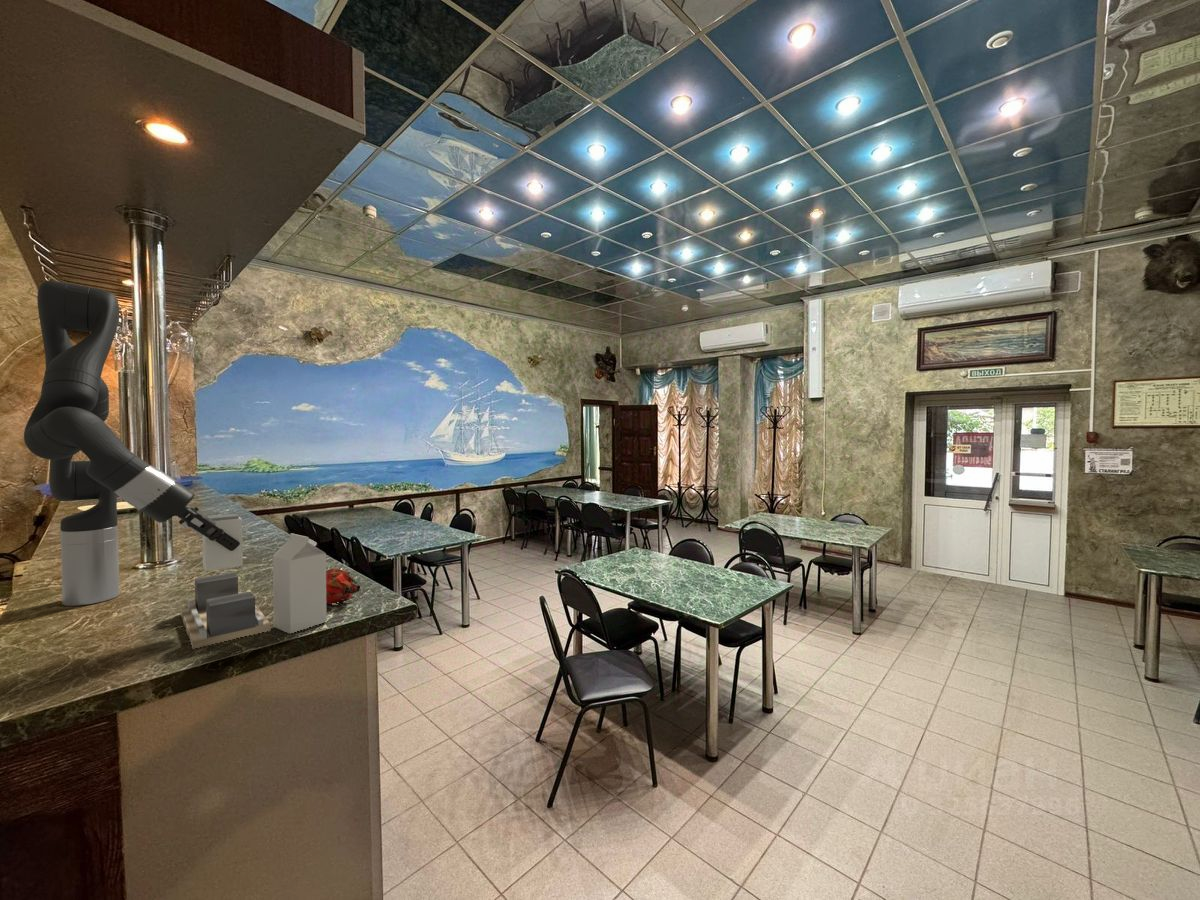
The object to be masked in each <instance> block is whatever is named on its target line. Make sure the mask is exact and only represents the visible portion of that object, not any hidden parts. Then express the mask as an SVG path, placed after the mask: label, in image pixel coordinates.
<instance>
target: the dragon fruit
mask: <svg viewBox="0 0 1200 900" xmlns="http://www.w3.org/2000/svg"><path fill="white" fill-rule="evenodd" d="M356 584H358V582H356V581H355V578H354V577H353V576H352V575H350V572H349V571H348V570H343V569H340V568H338V567H334V568H328V569H326V604H329V605H331V604H332V603H336V604H340V603H337V602H339V601H340V602H341V601H345V599H346V600H347V601H348V600H350V599H351V598H352V597H353V594H355V593H358V592H359V591H360V589H361V585H360V584H359V585H356Z"/></svg>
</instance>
